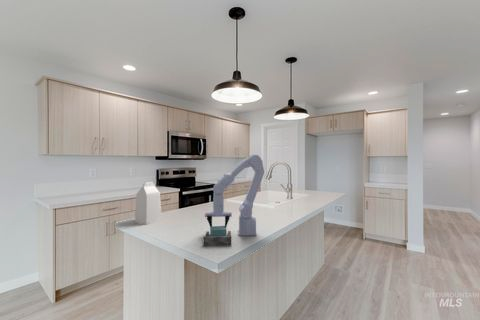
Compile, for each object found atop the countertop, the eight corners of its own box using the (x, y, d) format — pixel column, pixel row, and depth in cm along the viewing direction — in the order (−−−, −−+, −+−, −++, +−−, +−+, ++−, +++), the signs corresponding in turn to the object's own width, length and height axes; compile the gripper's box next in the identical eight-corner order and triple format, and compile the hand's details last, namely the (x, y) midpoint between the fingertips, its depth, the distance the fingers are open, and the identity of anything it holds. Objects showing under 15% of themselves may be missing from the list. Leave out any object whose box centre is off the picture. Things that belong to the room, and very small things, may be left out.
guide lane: (230, 233, 124) (230, 225, 124) (231, 245, 106) (231, 237, 106) (206, 233, 123) (206, 226, 123) (203, 246, 105) (203, 237, 105)
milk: (146, 225, 140) (146, 183, 139) (134, 222, 145) (134, 182, 145) (161, 220, 150) (161, 181, 150) (150, 218, 156) (150, 181, 156)
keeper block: (225, 234, 121) (225, 225, 121) (226, 238, 115) (226, 229, 115) (210, 235, 120) (210, 226, 120) (210, 239, 114) (210, 230, 114)
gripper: (231, 203, 127) (231, 227, 127) (205, 203, 126) (205, 227, 126) (231, 206, 120) (231, 231, 120) (204, 206, 119) (204, 231, 119)
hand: (218, 229), depth 123 cm, fingers open, 7 cm apart
